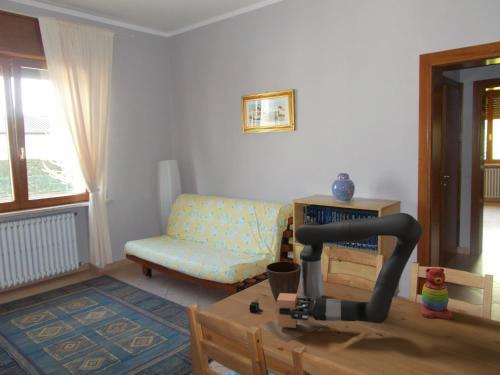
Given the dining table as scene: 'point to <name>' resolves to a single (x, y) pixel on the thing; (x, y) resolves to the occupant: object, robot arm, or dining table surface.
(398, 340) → the dining table surface
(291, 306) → the pink rectangular block
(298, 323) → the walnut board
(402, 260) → the robot arm
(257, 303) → the black faceted lump
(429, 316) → the stacking bear
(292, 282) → the plant pot
